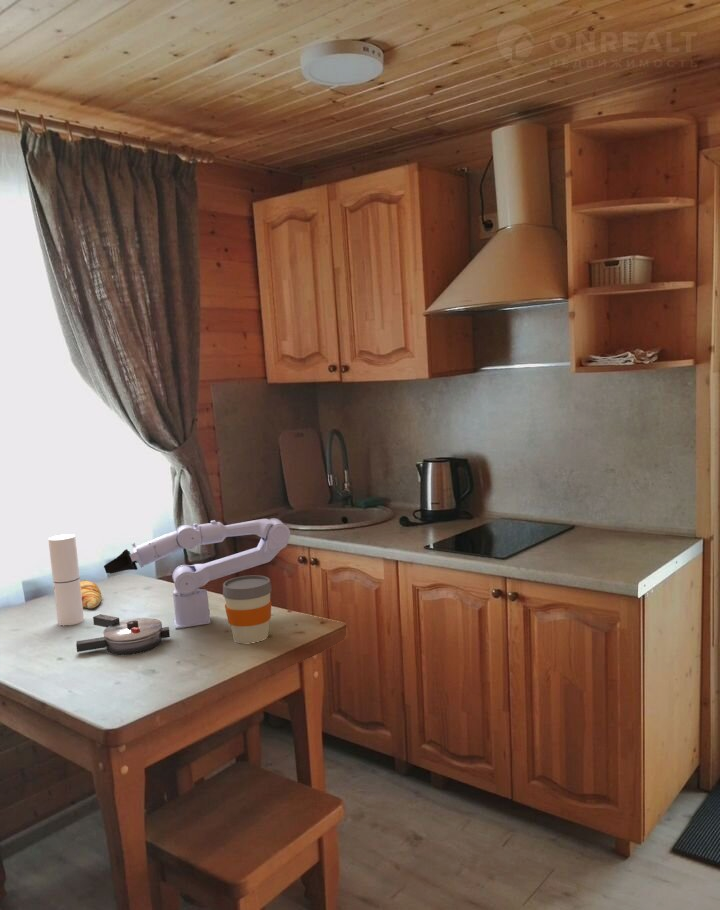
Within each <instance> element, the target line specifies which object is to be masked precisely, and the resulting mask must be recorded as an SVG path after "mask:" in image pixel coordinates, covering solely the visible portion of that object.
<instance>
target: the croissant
mask: <svg viewBox="0 0 720 910" xmlns="http://www.w3.org/2000/svg"><path fill="white" fill-rule="evenodd" d="M80 587H81V596H82V605H83V608H87V609H94V608H96V607H98V605H99V606H100V603H101V601H102V596H103V595H102V592H101V590H100V588H99V587H98V585H97V584H96V583H95V582H93V581H89V580H80Z"/></svg>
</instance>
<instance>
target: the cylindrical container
mask: <svg viewBox="0 0 720 910" xmlns="http://www.w3.org/2000/svg"><path fill="white" fill-rule="evenodd" d="M48 547H49V548H48V549H49V556H50V557H49V558H50V564H51V565H50V566H51V576H52V584H53V591H54V592H53V593H54V601H55V602H54V603H55V610H56V611H55V612H56V619H57V620H56V621H57V625H58V624H59V625H58V626H61V625H63V626H64V625H69V626H74V625H77V624H80V623H82V622H84V620H85V617H84V607H83V605H82V596H81V587H80V582H81V579H80V569H79V562H78V561H79V559H78V551H77V543H76V535H75V534H70V533H67V534H60V535H59V534H58V535H54V536H51V537H48ZM63 626H62V627H63ZM64 627H65V626H64Z"/></svg>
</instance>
